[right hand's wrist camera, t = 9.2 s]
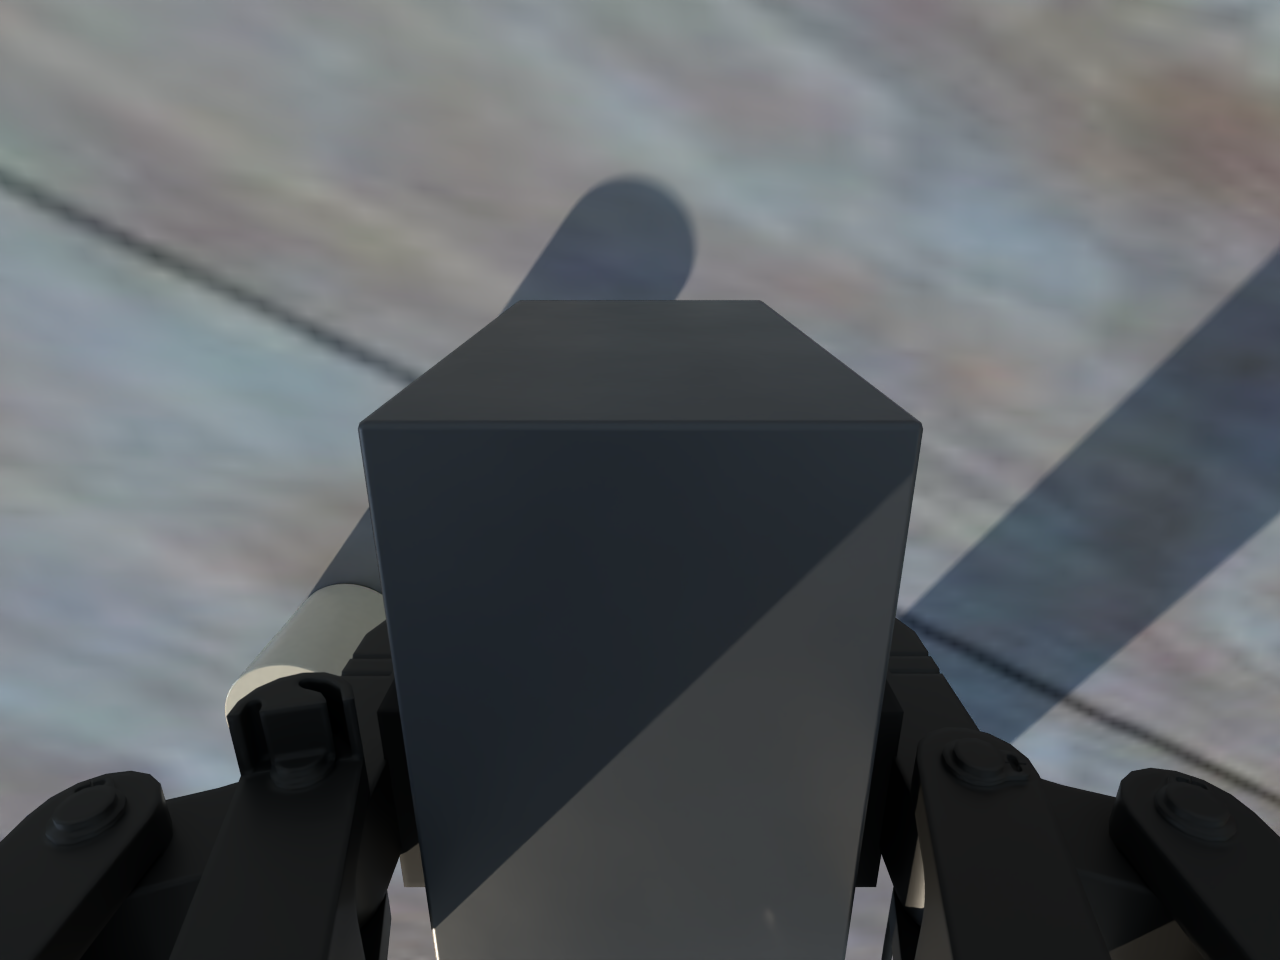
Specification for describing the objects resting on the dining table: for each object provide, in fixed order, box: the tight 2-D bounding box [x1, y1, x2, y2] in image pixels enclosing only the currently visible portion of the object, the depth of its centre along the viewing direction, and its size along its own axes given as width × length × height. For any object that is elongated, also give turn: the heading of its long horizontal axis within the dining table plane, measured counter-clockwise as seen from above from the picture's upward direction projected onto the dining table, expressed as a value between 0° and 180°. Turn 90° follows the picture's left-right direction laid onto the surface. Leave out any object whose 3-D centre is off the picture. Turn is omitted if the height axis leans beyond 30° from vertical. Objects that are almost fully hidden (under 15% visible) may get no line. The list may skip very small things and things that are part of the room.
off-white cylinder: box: [225, 584, 386, 727], centre depth 29 cm, size 5×5×6 cm
